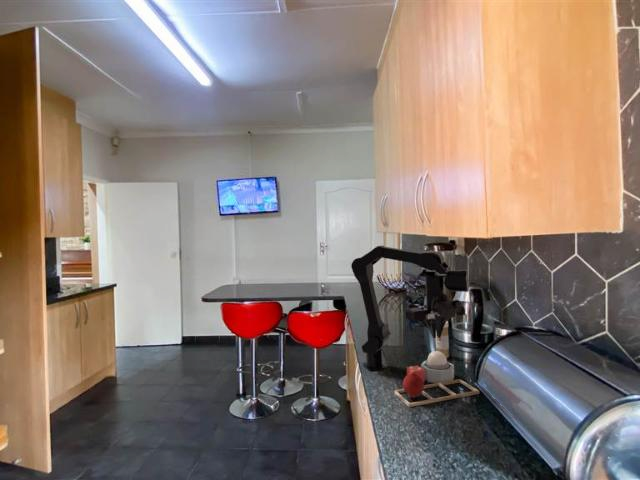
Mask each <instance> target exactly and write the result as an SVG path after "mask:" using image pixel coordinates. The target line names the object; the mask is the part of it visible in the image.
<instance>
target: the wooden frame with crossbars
mask: <svg viewBox="0 0 640 480" xmlns="http://www.w3.org/2000/svg"><path fill="white" fill-rule="evenodd" d="M457 383H458V384H459V383H460V384H461V385H463V386H465V387H467V388H468V389H469V390H471V391H466V392H463V393H455V392H454V391H452V390H450V389H449V388H448V387H446V386H447V385H453V384H457ZM436 387H439V388H440V389H442V390H443V391H445V392H446V393H448V394H450V395H447V396H442V397H441V396H440V397H436V398H434V397H432V396H431V395H429V394H428V393H427V392H425V391H424V390H425V389H430V388H436ZM402 393H403V394H404V393H406V392H405V390H404V388H401V389H395V390H393V394H394V395H395V396H396V397H398V398H399V400H401V401H402V402H403V403H404V404H405V405H406V406H408V408H411V407H416V406H421V405H428V404H434V403H437V402H442V401H443V402H444V401H448V400H453V399H458V398H465V397H470V396H473V395H479V394H480V390H479V389H477V388H476V387H474V386H472V385H470V384H469V383H467V382H466V381H464V380H462V379H461V378H460V379H459V378H458V379H453V380H452V381H446V382H440V383H430V384H424V389H423V391H422V393H421V394H422V395H423V396H424V397H425V398H427V399H425V400H419V401H415V402H409V401H408V400H407V399H406V398H405V397H404V396H403V395H402Z"/></svg>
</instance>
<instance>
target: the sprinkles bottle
mask: <svg viewBox="0 0 640 480" xmlns="http://www.w3.org/2000/svg"><path fill="white" fill-rule="evenodd" d="M435 340H436V341H435V343H436V345H435V346H436V351H439V352H442V353H443V354H444V355H445V357H446V359H448V358H449V357H450V353H449V349H450V348H449V344H450V343H449V320H448V321H447V322H446V323H445V325H444V328H443V331H442V334H441V337H440V338H438V337H437V333H436V338H435Z"/></svg>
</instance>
